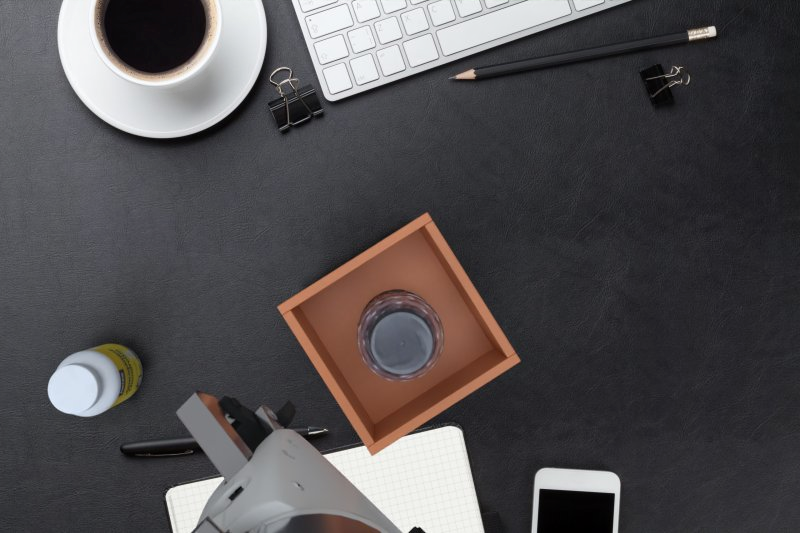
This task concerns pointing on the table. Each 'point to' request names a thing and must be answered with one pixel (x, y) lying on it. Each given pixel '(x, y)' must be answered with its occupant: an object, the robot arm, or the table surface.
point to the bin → (340, 313)
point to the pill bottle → (95, 380)
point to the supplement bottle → (399, 336)
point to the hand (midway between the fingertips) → (337, 486)
